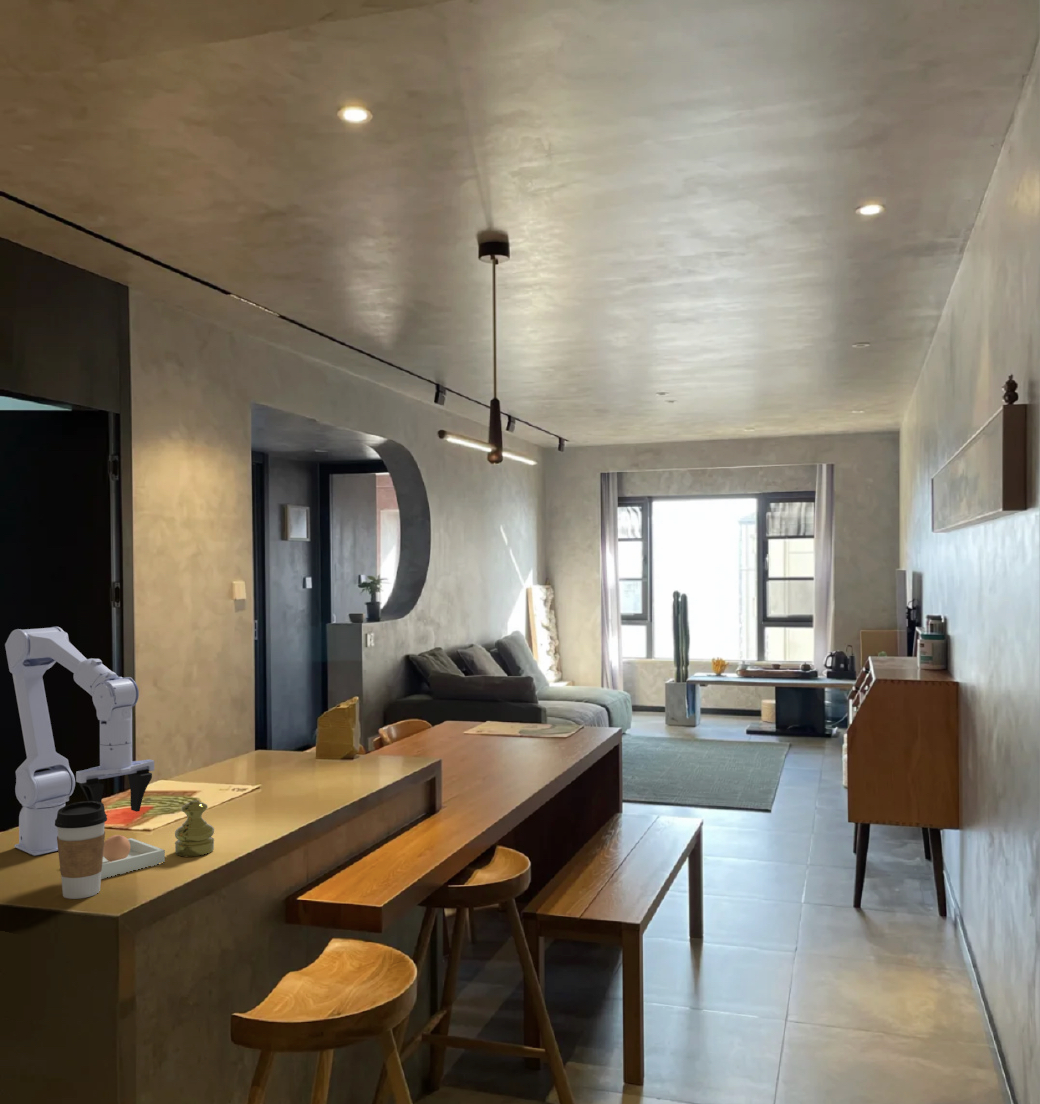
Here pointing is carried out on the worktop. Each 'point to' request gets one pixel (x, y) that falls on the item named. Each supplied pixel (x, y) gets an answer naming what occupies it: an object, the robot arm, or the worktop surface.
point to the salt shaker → (194, 832)
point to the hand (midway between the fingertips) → (116, 814)
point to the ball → (116, 848)
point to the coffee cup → (81, 847)
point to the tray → (133, 859)
